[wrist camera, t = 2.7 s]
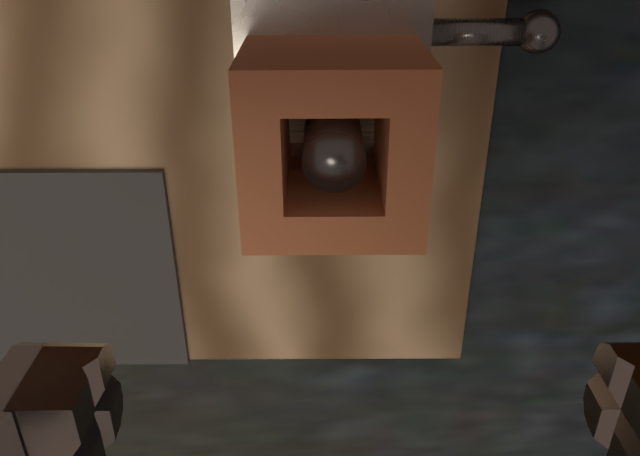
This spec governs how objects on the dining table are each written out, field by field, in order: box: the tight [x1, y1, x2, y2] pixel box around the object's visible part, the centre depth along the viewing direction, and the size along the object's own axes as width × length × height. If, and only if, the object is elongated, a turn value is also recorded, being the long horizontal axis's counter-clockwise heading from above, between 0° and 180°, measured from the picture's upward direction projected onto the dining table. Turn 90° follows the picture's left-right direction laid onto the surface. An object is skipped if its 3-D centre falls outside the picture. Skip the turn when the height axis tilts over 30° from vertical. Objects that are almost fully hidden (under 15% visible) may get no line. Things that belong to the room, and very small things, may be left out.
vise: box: [230, 0, 561, 193], centre depth 22 cm, size 12×9×8 cm
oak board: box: [0, 0, 508, 359], centre depth 29 cm, size 26×20×2 cm
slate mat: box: [0, 169, 190, 364], centre depth 30 cm, size 11×11×1 cm
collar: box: [228, 35, 443, 256], centre depth 21 cm, size 6×6×5 cm
